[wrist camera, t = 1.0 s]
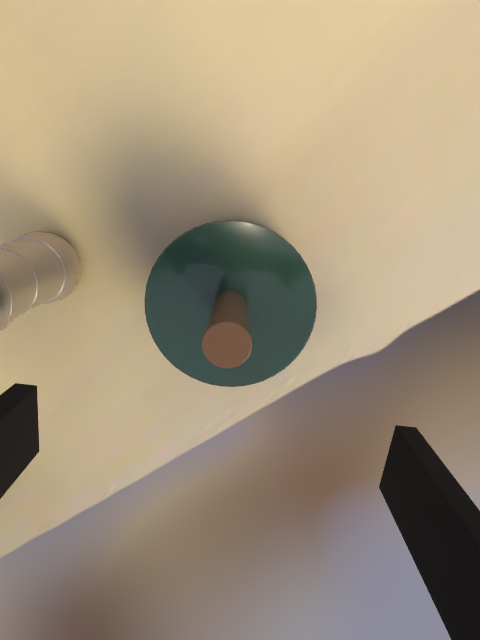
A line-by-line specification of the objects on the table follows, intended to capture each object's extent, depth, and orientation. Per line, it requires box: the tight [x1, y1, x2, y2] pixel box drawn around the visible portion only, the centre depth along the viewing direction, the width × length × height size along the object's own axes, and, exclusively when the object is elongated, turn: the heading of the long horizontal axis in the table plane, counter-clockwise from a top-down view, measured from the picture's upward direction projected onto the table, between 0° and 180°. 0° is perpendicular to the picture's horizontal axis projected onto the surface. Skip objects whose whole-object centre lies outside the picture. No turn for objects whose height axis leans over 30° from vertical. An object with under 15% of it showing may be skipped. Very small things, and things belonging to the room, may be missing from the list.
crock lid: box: [145, 220, 317, 387], centre depth 28 cm, size 14×14×9 cm
